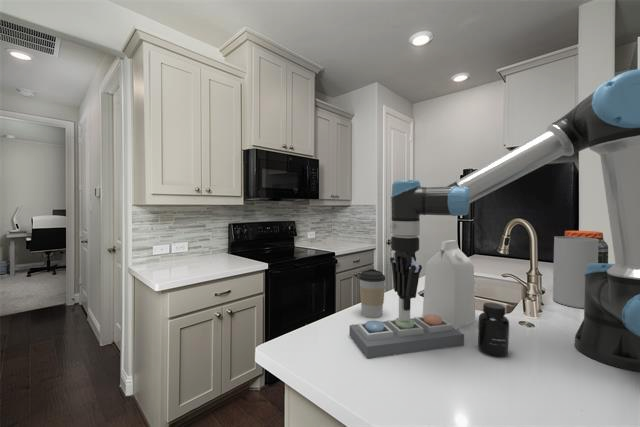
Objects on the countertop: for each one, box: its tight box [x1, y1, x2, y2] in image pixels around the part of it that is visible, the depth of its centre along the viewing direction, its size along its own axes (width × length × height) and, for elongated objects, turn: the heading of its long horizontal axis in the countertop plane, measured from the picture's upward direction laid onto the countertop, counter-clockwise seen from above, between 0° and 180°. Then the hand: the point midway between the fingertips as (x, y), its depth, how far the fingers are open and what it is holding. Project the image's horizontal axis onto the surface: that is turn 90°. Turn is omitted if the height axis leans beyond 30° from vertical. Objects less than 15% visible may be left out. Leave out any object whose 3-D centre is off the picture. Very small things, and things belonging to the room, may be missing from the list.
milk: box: [421, 239, 477, 330], centre depth 95 cm, size 12×12×26 cm
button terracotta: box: [424, 315, 442, 326], centre depth 83 cm, size 5×5×2 cm
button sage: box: [394, 317, 414, 330], centre depth 81 cm, size 5×5×2 cm
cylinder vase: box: [552, 235, 598, 310], centre depth 109 cm, size 12×12×25 cm
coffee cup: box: [358, 268, 386, 319], centre depth 100 cm, size 9×9×15 cm
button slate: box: [365, 319, 384, 333], centre depth 78 cm, size 5×5×2 cm
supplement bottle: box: [477, 302, 510, 358], centre depth 74 cm, size 7×7×12 cm
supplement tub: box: [564, 230, 609, 264], centre depth 126 cm, size 16×16×26 cm
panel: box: [349, 316, 465, 360], centre depth 81 cm, size 13×28×4 cm, turn 104°
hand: (404, 320), depth 81 cm, fingers closed
